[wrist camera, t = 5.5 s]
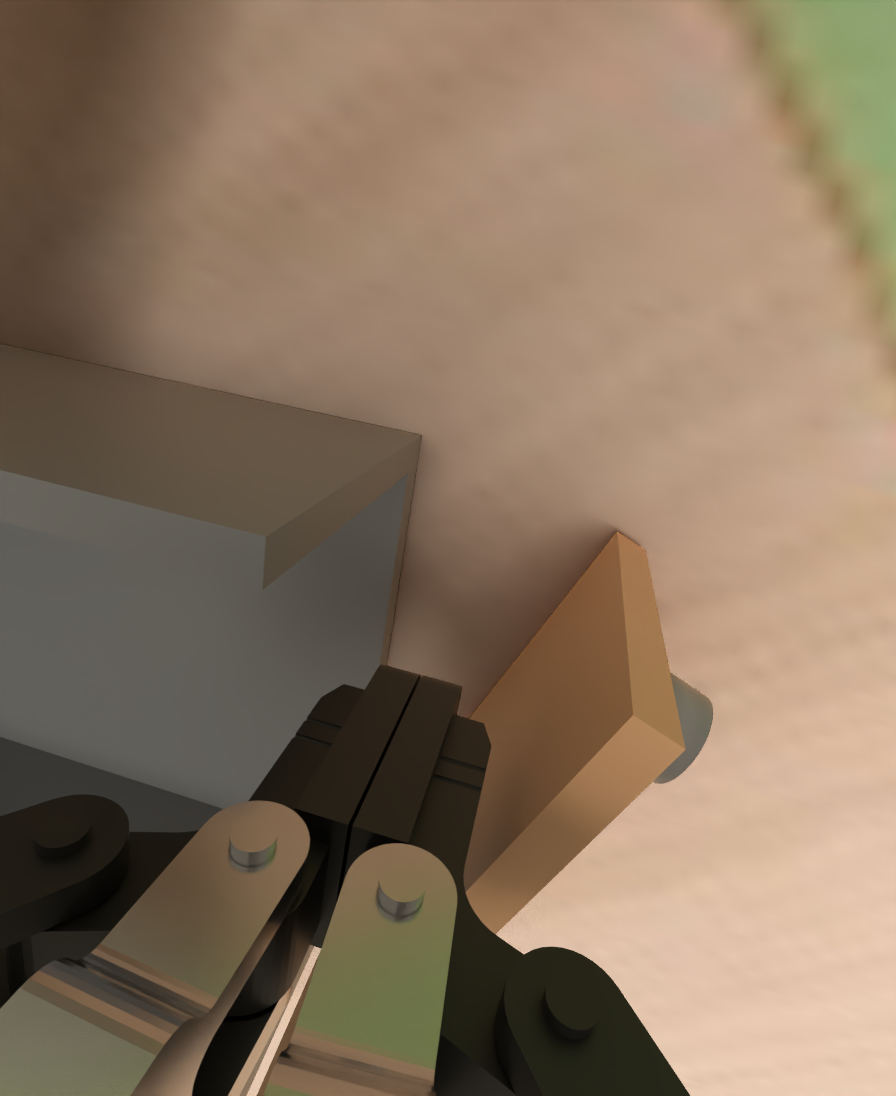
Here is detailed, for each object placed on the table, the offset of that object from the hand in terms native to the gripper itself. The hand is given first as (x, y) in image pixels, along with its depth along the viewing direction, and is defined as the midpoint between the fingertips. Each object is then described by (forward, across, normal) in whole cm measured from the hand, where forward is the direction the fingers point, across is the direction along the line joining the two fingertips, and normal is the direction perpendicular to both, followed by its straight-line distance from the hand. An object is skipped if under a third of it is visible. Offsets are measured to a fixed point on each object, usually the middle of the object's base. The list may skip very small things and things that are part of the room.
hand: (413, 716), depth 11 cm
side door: (+6, -2, +4) cm, 7 cm away
